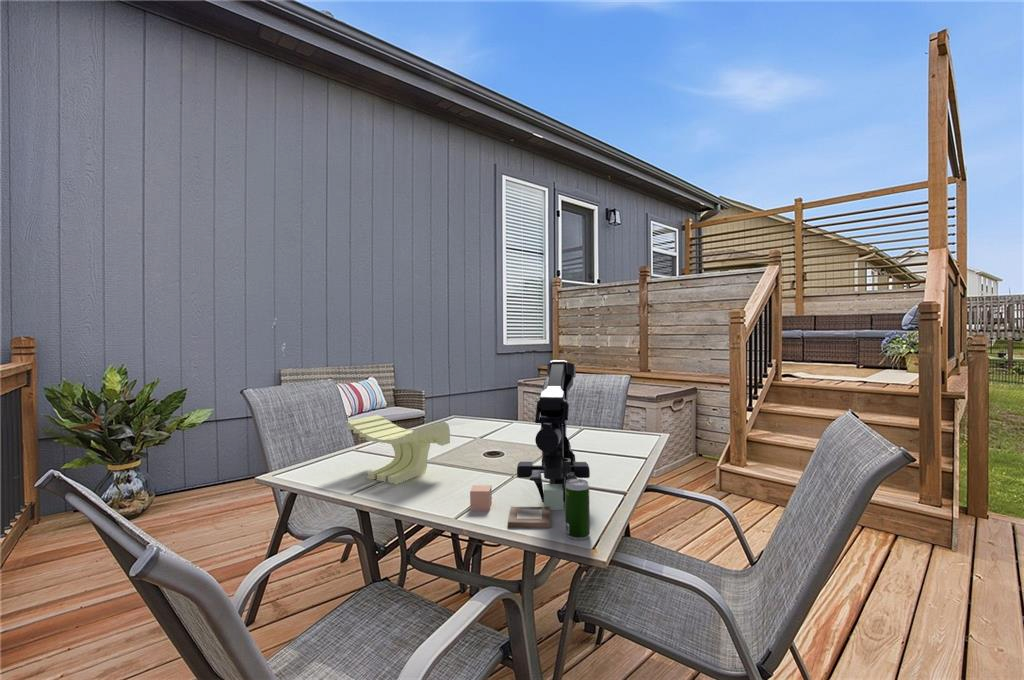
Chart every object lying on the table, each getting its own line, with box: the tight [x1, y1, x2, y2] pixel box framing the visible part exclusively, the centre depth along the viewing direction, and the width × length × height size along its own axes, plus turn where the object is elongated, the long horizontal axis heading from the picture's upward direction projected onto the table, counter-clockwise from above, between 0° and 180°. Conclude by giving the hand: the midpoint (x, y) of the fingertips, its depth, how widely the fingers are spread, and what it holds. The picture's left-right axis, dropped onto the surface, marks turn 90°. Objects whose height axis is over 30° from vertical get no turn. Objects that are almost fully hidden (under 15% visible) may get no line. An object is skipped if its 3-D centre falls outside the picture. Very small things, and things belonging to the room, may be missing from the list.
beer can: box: [564, 478, 591, 541], centre depth 102 cm, size 5×5×12 cm
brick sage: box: [543, 483, 564, 511], centre depth 121 cm, size 5×5×5 cm
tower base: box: [507, 506, 551, 529], centre depth 112 cm, size 10×10×1 cm
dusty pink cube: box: [469, 484, 493, 511], centre depth 121 cm, size 5×5×5 cm
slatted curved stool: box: [347, 414, 451, 485], centre depth 151 cm, size 30×16×18 cm, turn 60°
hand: (553, 502), depth 121 cm, fingers closed on brick sage, 5 cm apart
